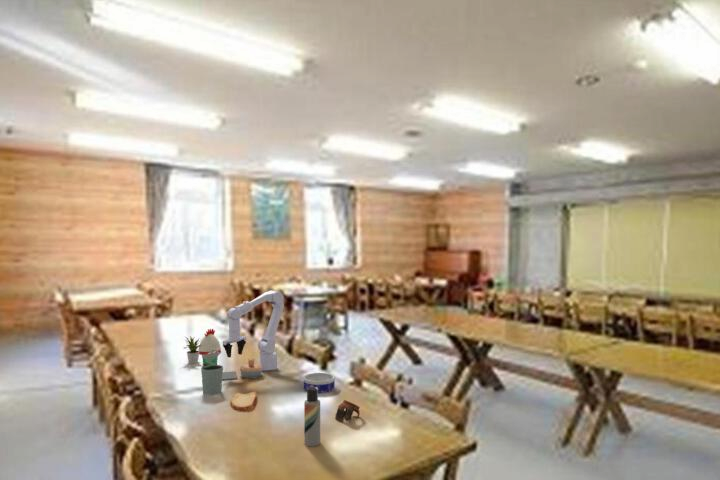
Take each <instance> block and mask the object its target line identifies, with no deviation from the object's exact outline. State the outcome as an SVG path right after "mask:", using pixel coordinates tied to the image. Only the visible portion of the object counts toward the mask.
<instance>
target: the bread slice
mask: <svg viewBox="0 0 720 480" xmlns="http://www.w3.org/2000/svg"><path fill="white" fill-rule="evenodd" d="M257 401H258V395H257V392H256V391H251V392H249V393H248V392H247V393H241V392H236V393H235V394H234V395H233V396H232V397H231V398H230V402H229V404H230V407H231V409H232V410H235V411H237V412H244V413H247V412H251V411H253V410H254V408H255V407H256V404H257Z"/></svg>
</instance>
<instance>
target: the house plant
mask: <svg viewBox="0 0 720 480" xmlns="http://www.w3.org/2000/svg"><path fill="white" fill-rule="evenodd" d="M183 337H185V338H186V341H187V344H186V345H185V346H184V347H183V350H184V349H188V351H187V352H186V354H187V356H186V357H187V360H188V363H189V364H196V363H198V362H199V357H200V354H199V351H198V349H199V346H201V345H200V341H201V340H202V339H203V338H202V339H200V338H198V339H196V340H195V341H194V339H195V335H194V336H193V338H192V337H191V335H190V336H189V337H190V339H189V338H188V337H186V336H183ZM199 340H200V341H199ZM202 347H203V346H202Z"/></svg>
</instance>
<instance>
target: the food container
mask: <svg viewBox="0 0 720 480" xmlns="http://www.w3.org/2000/svg"><path fill="white" fill-rule="evenodd" d="M201 355H202V356H201V358H202V367H204V366H208V365H218V357H219V356H220V352H219V353H218V351H217V350H212V352H210V353H207V354H201Z"/></svg>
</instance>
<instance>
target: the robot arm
mask: <svg viewBox="0 0 720 480" xmlns="http://www.w3.org/2000/svg"><path fill="white" fill-rule="evenodd" d="M284 298H285V297H284V295H283V293H282V292H281V291H276V290H268V291H265V292H264V293H262V294H261V295H258V296H257V297H256V298H254V299H253V300H251V301H245V300H244V301H243V302H242V303H241V304H239V305H235V306H234V307H231V308H230V309H229V310H228V312H227V313H226V317H227V318H228V338H227V339H225V340H222V346H223V349H224V350H225V352H226V353H225V354H226V357H227V358H231V357H232V350H233V349H232V348H233V344H235V343H236V346H237V353H238V354H237V355H239V356H240V355H242V354H243V350H244V347H245V345H246V344H247V341H246V340H247V336H243V335H242V336H241V318H242V316H244V315H246V314H247V313H249V312H252V311H253V308H254V307H256V306H258V305H261V304H262V303H264V302H265V303H266V302H269V303H270V304H271V306H272V308H273V309H272V312H271V315H270V319H269V322H268V325H267V327H266V331H265V333H264V335H263V336H262V337H261V340H260V341H259V342H258V344H257V349H258V350H259V365H262V366H263V368H262V372H264V371H275V370H278V355H277V352H274V351H275V350H276V339H275V338H276V337H275V336H276V333H277V331H278V330H277V329H278V327H279V324H280V321H281V317H282V314H283V312H284V309H285V306H284V305H285V303H284Z"/></svg>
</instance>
